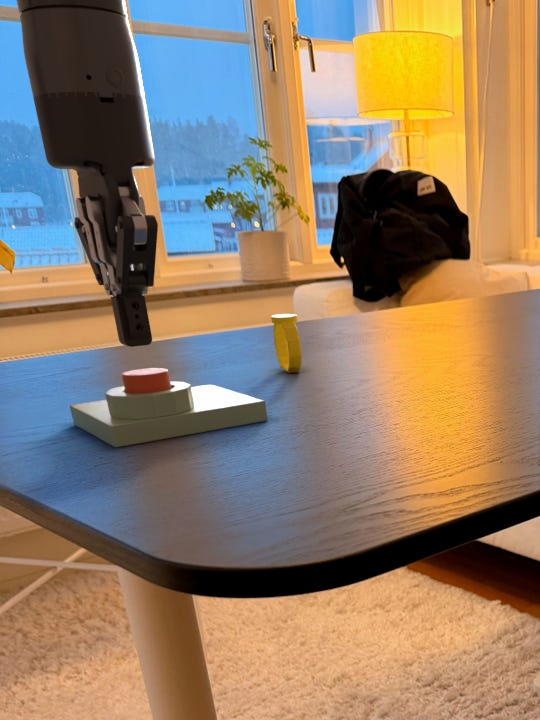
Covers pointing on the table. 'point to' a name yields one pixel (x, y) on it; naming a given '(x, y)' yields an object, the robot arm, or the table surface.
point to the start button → (146, 380)
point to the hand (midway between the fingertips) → (136, 344)
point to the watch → (287, 333)
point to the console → (165, 413)
